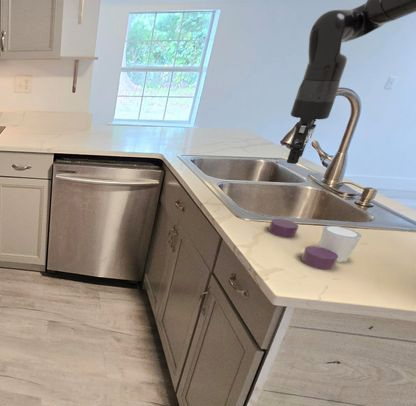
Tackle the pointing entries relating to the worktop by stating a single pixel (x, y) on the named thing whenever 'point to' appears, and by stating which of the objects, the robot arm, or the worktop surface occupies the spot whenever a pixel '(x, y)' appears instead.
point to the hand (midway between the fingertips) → (294, 159)
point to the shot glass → (339, 241)
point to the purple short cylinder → (319, 257)
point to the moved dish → (283, 228)
